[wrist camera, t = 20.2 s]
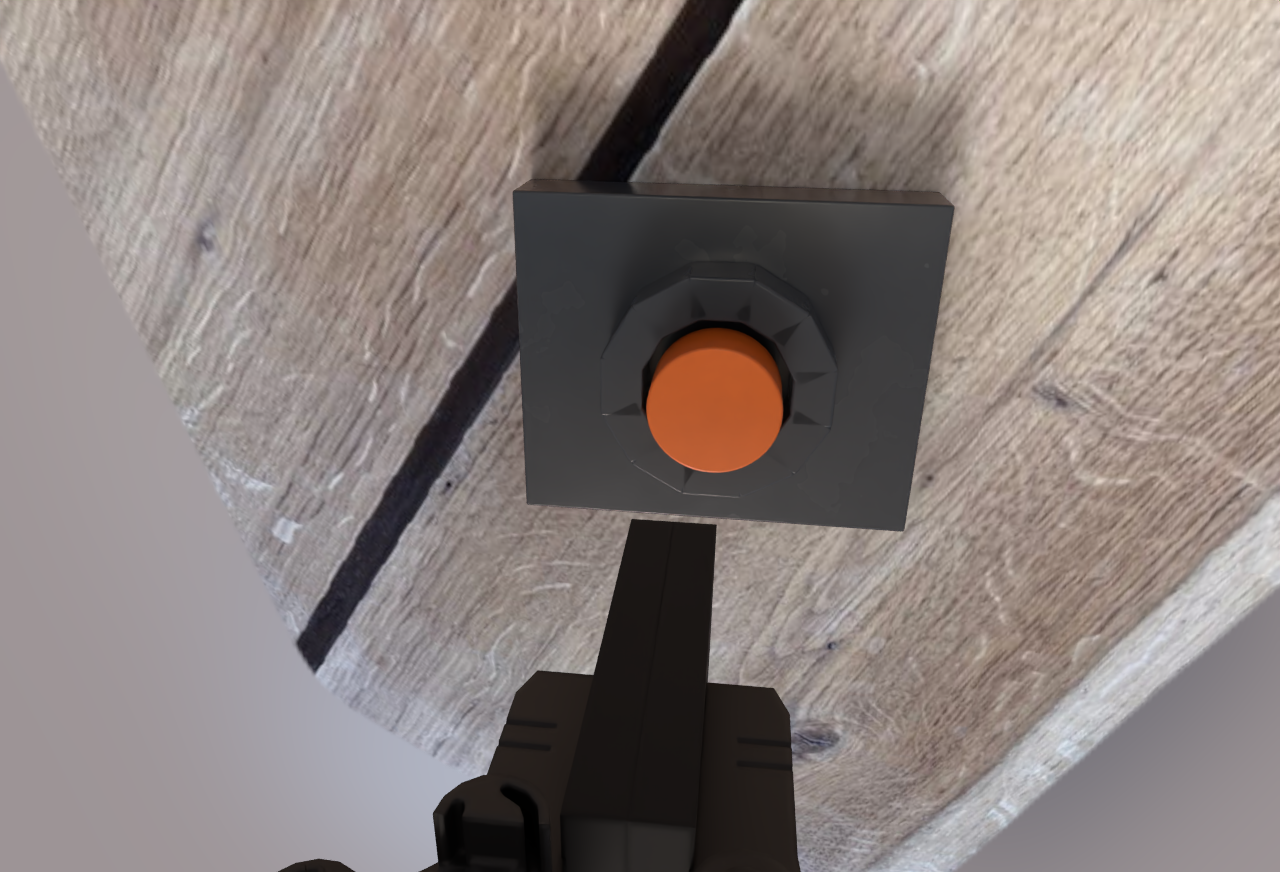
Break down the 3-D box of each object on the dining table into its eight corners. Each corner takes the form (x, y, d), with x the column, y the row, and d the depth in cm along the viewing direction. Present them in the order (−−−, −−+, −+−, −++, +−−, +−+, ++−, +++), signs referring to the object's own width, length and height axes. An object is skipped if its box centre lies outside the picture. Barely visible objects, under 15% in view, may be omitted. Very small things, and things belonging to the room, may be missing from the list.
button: (651, 442, 26) (644, 469, 24) (654, 323, 25) (647, 343, 23) (776, 450, 26) (777, 478, 24) (787, 330, 24) (788, 351, 23)
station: (541, 474, 31) (512, 533, 27) (529, 178, 27) (494, 201, 23) (894, 498, 30) (913, 563, 26) (940, 191, 26) (969, 218, 22)
